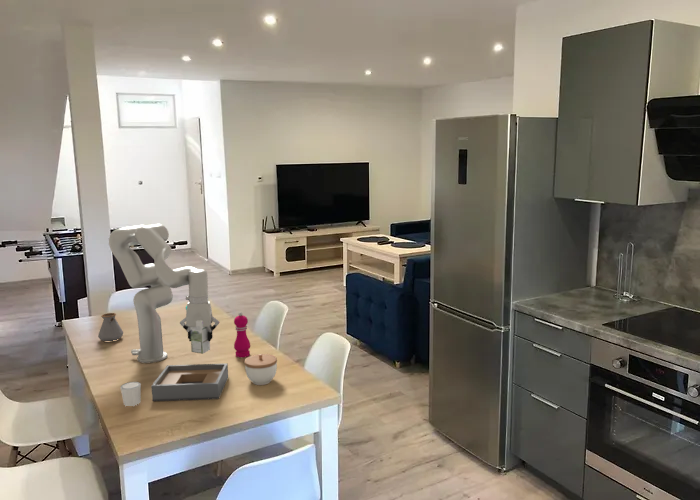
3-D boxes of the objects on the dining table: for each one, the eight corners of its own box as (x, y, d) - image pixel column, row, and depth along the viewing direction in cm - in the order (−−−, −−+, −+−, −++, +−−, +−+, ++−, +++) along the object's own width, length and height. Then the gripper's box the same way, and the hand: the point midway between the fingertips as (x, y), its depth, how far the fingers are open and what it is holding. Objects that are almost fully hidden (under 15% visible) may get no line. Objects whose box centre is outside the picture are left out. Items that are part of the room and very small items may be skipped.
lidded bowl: (263, 390, 207) (262, 362, 205) (238, 383, 214) (237, 357, 212) (284, 378, 218) (283, 352, 216) (260, 372, 224) (259, 347, 223)
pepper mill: (247, 358, 241) (244, 314, 237) (231, 357, 242) (229, 314, 239) (253, 352, 248) (251, 310, 244) (238, 352, 249) (236, 309, 246)
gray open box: (152, 401, 200) (151, 385, 199) (168, 379, 219) (167, 365, 218) (218, 399, 200) (217, 383, 199) (228, 377, 220) (227, 363, 219)
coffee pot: (97, 338, 272) (94, 309, 269) (122, 334, 278) (119, 306, 275) (102, 351, 254) (99, 320, 251) (128, 346, 259) (125, 316, 257)
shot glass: (125, 399, 201) (123, 381, 200) (144, 398, 202) (143, 380, 201) (119, 408, 195) (117, 389, 194) (139, 407, 195) (137, 388, 194)
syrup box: (210, 349, 231) (209, 316, 228) (202, 354, 225) (201, 320, 222) (199, 347, 232) (197, 315, 230) (190, 352, 227) (189, 319, 224)
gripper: (174, 301, 221) (176, 343, 224) (218, 301, 221) (219, 343, 225) (179, 296, 228) (181, 337, 231) (221, 296, 229) (223, 337, 232)
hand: (200, 340), depth 228 cm, fingers closed on syrup box, 7 cm apart
